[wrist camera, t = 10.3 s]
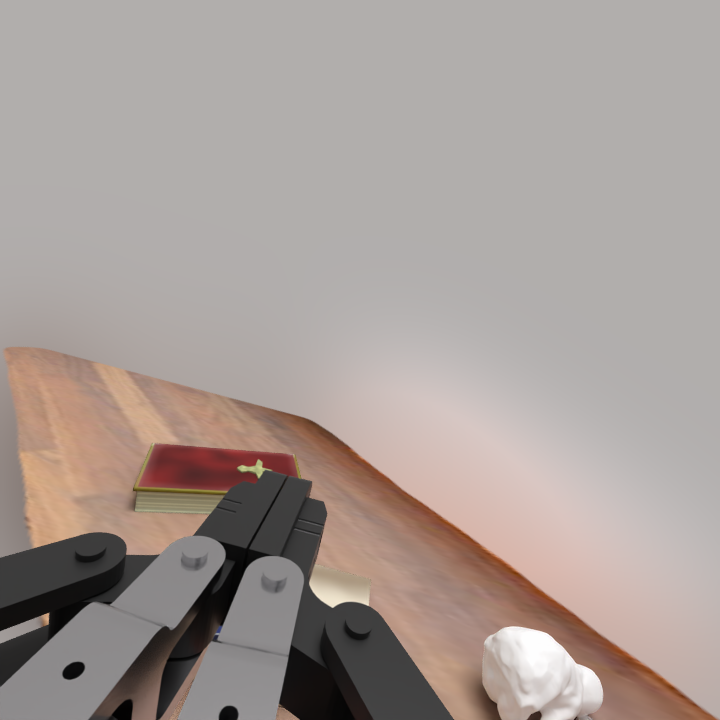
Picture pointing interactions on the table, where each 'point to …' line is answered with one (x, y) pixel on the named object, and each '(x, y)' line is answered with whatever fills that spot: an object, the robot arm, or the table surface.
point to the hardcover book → (200, 476)
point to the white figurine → (537, 677)
